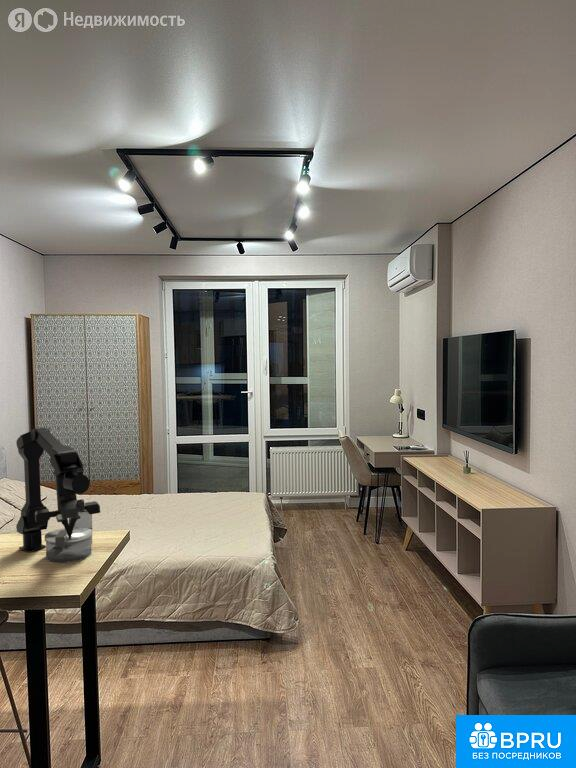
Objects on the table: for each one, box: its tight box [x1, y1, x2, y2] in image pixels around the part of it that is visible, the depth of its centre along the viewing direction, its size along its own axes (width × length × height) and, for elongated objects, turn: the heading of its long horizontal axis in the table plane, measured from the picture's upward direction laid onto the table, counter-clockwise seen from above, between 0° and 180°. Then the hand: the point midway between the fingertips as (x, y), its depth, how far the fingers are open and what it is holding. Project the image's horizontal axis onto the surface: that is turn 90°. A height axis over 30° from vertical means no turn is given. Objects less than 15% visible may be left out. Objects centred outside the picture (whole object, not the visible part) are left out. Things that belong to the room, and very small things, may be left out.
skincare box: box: [74, 512, 93, 545], centre depth 202 cm, size 6×4×12 cm
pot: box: [45, 537, 92, 564], centre depth 187 cm, size 20×14×6 cm
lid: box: [44, 527, 93, 547], centre depth 186 cm, size 21×15×4 cm
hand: (69, 538), depth 179 cm, fingers closed
